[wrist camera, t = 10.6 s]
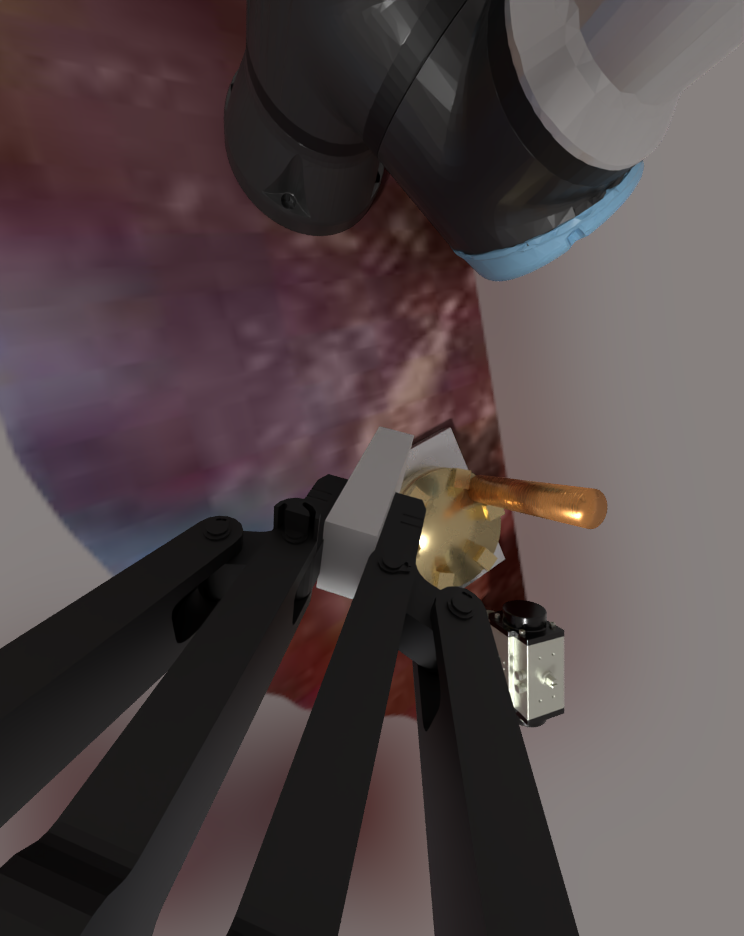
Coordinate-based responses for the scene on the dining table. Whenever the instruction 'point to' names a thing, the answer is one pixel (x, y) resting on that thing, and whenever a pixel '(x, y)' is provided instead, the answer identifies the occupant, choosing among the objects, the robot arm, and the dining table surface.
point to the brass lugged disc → (485, 517)
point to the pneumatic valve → (530, 660)
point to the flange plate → (441, 453)
